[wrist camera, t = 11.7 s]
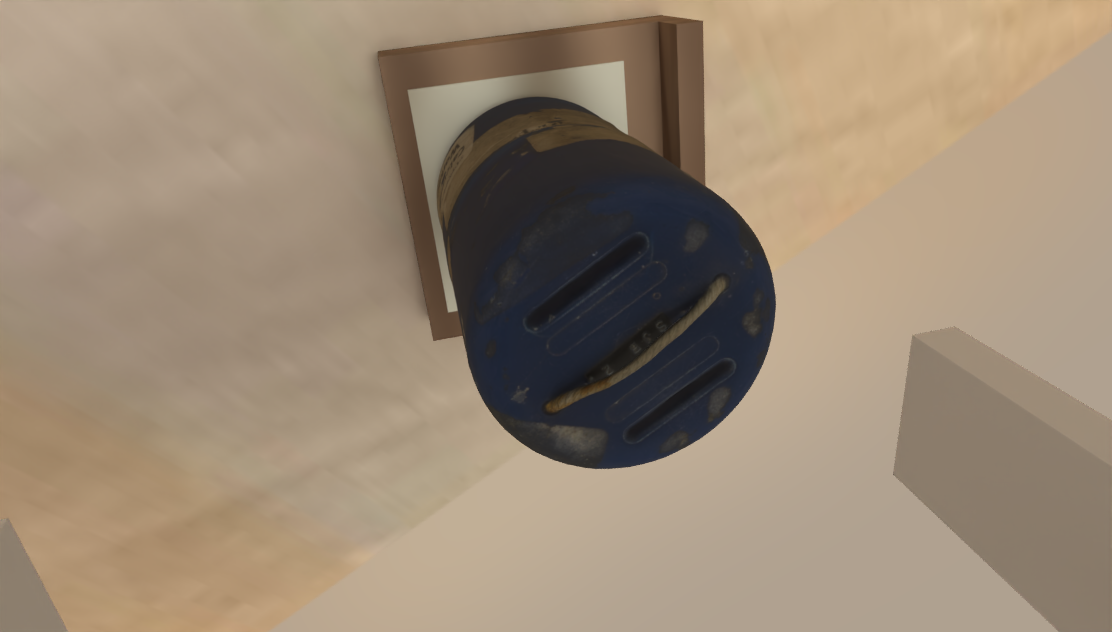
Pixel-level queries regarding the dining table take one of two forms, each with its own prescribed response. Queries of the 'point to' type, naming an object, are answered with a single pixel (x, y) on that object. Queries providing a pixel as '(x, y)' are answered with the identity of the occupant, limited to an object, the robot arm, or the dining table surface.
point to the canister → (598, 286)
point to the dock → (538, 71)
